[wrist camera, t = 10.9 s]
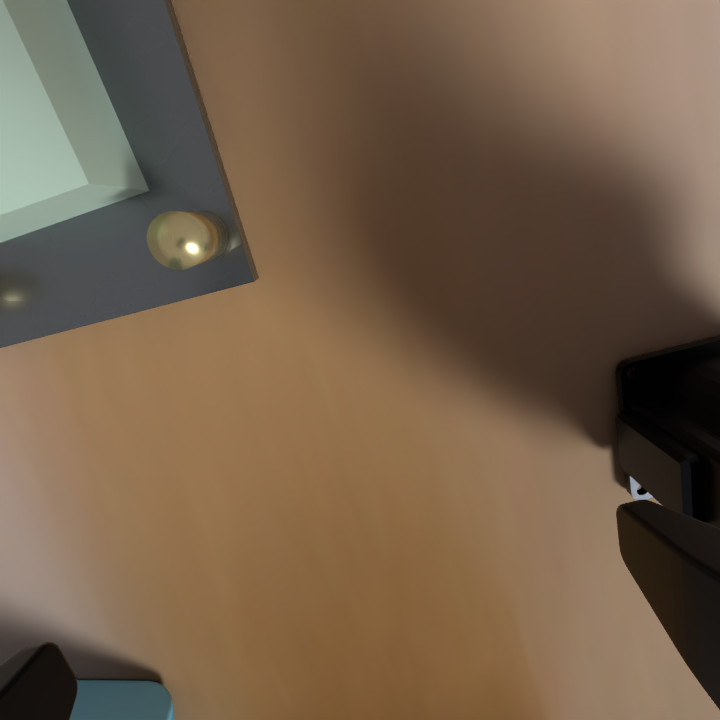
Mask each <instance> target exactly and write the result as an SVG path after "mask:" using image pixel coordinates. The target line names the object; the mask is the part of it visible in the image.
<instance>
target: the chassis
mask: <svg viewBox="0 0 720 720" xmlns="http://www.w3.org/2000/svg"><path fill="white" fill-rule="evenodd" d="M67 2H68V4H69V7H70V9H71V11H72V13H73V16H74V18H75V20H76V23H77V25H78V27H79V30H80V32H81V34H82V37H83V39H84V41H85V43H86V46H87V48H88V50H89V53H90V55H91V57H92V60H93V62H94V64H95V66H96V69H97V71H98V73H99V76H100V78H101V80H102V83H103V85H104V87H105V89H106V92H107V94H108V96H109V99H110V101H111V103H112V106H113V108H114V110H115V113H116V115H117V117H118V119H119V122H120V124H121V126H122V129H123V131H124V133H125V136H126V138H127V140H128V142H129V145H130V147H131V149H132V152H133V154H134V156H135V159H136V161H137V163H138V165H139V168H140V170H141V172H142V175H143V177H144V179H145V182H146V184H147V186H148V188H149V191H147V192H144V193H141V194H138V195H135V196H133V197H130V198H127V199H124V200H121V201H118V202H115V203H113V204H110V205H107V206H104V207H101V208H98V209H95V210H93V211H90V212H87V213H84V214H81V215H78V216H75V217H73V218H70V219H67V220H64V221H61V222H58V223H55V224H53V225H50V226H47V227H44V228H41V229H38V230H35V231H33V232H30V233H27V234H24V235H21V236H18V237H15V238H13V239H10V240H7V241H4V242H1V243H0V348H2V347H6V346H10V345H13V344H17V343H21V342H25V341H29V340H32V339H36V338H40V337H44V336H48V335H52V334H55V333H59V332H63V331H67V330H71V329H75V328H78V327H82V326H86V325H90V324H94V323H97V322H101V321H105V320H109V319H113V318H117V317H120V316H124V315H128V314H132V313H136V312H140V311H143V310H147V309H151V308H155V307H159V306H162V305H166V304H170V303H174V302H178V301H182V300H185V299H189V298H193V297H197V296H201V295H205V294H208V293H212V292H216V291H220V290H224V289H227V288H231V287H235V286H239V285H243V284H247V283H250V282H254V281H255V280H257V279H258V278H259V277H258V274H257V271H256V268H255V264H254V261H253V258H252V255H251V252H250V249H249V245H248V242H247V239H246V236H245V233H244V230H243V226H242V223H241V220H240V217H239V214H238V211H237V207H236V204H235V201H234V198H233V195H232V192H231V188H230V185H229V182H228V179H227V176H226V173H225V169H224V166H223V163H222V160H221V157H220V154H219V150H218V147H217V144H216V141H215V138H214V135H213V132H212V128H211V125H210V122H209V119H208V116H207V113H206V109H205V106H204V103H203V100H202V97H201V94H200V90H199V87H198V84H197V81H196V78H195V75H194V71H193V68H192V65H191V62H190V59H189V56H188V52H187V49H186V46H185V43H184V40H183V37H182V33H181V30H180V27H179V24H178V21H177V18H176V14H175V11H174V8H173V5H172V2H171V0H67Z"/></svg>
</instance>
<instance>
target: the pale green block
mask: <svg viewBox="0 0 720 720" xmlns="http://www.w3.org/2000/svg"><path fill="white" fill-rule="evenodd" d="M147 191H149V188H148V186H147V184H146V182H145V179H144V177H143V175H142V172H141V170H140V168H139V165H138V163H137V161H136V159H135V156H134V154H133V152H132V149H131V147H130V145H129V142H128V140H127V138H126V136H125V133H124V131H123V129H122V126H121V124H120V122H119V119H118V117H117V115H116V113H115V110H114V108H113V106H112V103H111V101H110V99H109V96H108V94H107V92H106V89H105V87H104V85H103V83H102V80H101V78H100V76H99V73H98V71H97V69H96V66H95V64H94V62H93V60H92V57H91V55H90V53H89V50H88V48H87V46H86V43H85V41H84V39H83V37H82V34H81V32H80V30H79V27H78V25H77V23H76V20H75V18H74V16H73V13H72V11H71V9H70V7H69V4H68V2H67V0H0V243H1V242H4V241H7V240H10V239H13V238H15V237H18V236H21V235H24V234H27V233H30V232H33V231H35V230H38V229H41V228H44V227H47V226H50V225H53V224H55V223H58V222H61V221H64V220H67V219H70V218H73V217H75V216H78V215H81V214H84V213H87V212H90V211H93V210H95V209H98V208H101V207H104V206H107V205H110V204H113V203H115V202H118V201H121V200H124V199H127V198H130V197H133V196H135V195H138V194H141V193H144V192H147Z"/></svg>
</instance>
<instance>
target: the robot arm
mask: <svg viewBox="0 0 720 720" xmlns="http://www.w3.org/2000/svg"><path fill="white" fill-rule="evenodd" d="M631 368H634V371H633V373H632V374H631V375H630V376H627V373H628V371H629V370H630V369H631ZM615 374H616V385H617V396H618V407H619V412H618V413H617V416H616V428H617V438H618V449H619V459H620V467H621V468H622V469H623V470H624V472H625V483H626V489H627V491H628V492H629V493H630V494H631V495H632V496H633V497H634V498H635V499H637V501H633V502H629V503H625V504H621V505H620V506H618V508H617V511H616V517H617V527H618V537H619V546H620V552H621V555H622V558H623V560H624V562H625V564H626V566H627V568H628V570H629V571H630V573H631V575H632V576H633V578H634V579H635V581H636V583H637V584H638V586H639V588H640V589H641V591H642V593H643V594H644V596H645V598H646V599H647V601H648V602H649V604H650V606H651V607H652V609H653V611H654V612H655V614H656V616H657V617H658V619H659V621H660V622H661V624H662V625H663V627H664V629H665V630H666V632H667V634H668V635H669V637H670V639H671V640H672V642H673V644H674V645H675V647H676V648H677V650H678V652H679V653H680V655H681V656H682V658H683V659H684V661H685V663H686V664H687V666H688V667H689V668H690V670H691V671H692V673H693V674H694V676H695V677H696V678H697V680H698V681H699V683H700V684H701V685H702V687H703V688H704V689H705V691H706V692H707V693H708V695H709V696H710V697H711V699H712V700H713V701H714V703H715V704H716V706H717V707H718V708H719V710H720V336H717V337H713V338H709V339H705V340H701V341H697V342H693V343H689V344H685V345H681V346H677V347H673V348H669V349H665V350H661V351H657V352H653V353H649V354H645V355H641V356H637V357H633V358H629V359H626V360H623V361H622V362H620V363H619V364H618V366H617V368H616V373H615ZM639 486H642V487H641V489H639V490H637V489H638V487H639ZM653 497H654V498H655V499H656V500H657V501H658V502H659V503H661V504H662V505H663V506H662V505H659V504H657V503H654V502H651V501H648V500H645V499H649V498H653ZM77 690H78V684H77V679H76V676H75V674H74V673H73V671H72V669H71V667H70V666H69V664H68V662H67V661H66V659H65V657H64V655H63V654H62V652H61V650H60V649H59V647H58V646H57V645H56V644H54V643H52V642H46V643H42V644H38V645H34V646H30V647H27V648H25V649H23V650H21V651H20V652H18V653H17V654H16V655H15V656H14V657H12V658H11V659H10V660H9V661H7V662H6V663H5V664H4V665H2V666H1V667H0V720H70V716H71V713H72V710H73V706H74V703H75V700H76V696H77Z"/></svg>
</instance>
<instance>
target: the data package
mask: <svg viewBox="0 0 720 720" xmlns="http://www.w3.org/2000/svg"><path fill="white" fill-rule="evenodd" d="M77 684H78V690H77V696H76V700H75V703H74V706H73V710H72V713H71V716H70V720H174V718H173V703H172V698H171V695H170V693H169V692H168V690H167V689H166V688H165V687H164V686H163V685H161V684H159V683H157V682H153V681H128V680H77Z"/></svg>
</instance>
